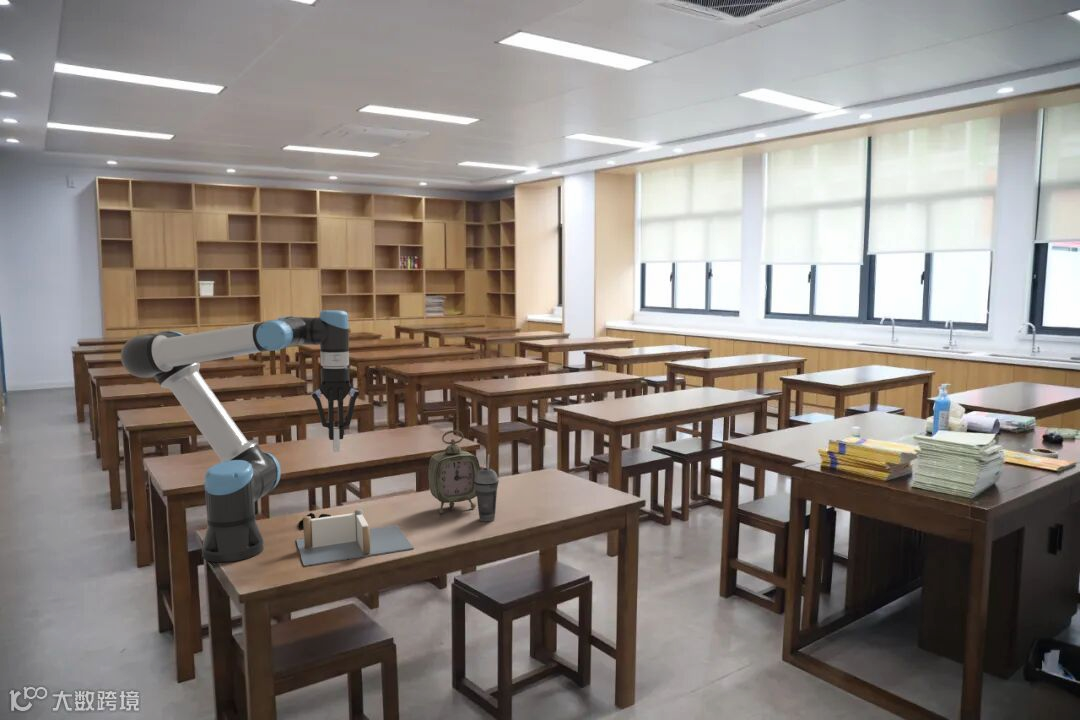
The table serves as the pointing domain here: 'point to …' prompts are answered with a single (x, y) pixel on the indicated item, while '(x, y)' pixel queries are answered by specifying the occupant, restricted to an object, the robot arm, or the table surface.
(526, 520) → the table surface
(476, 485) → the beverage cup
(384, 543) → the card
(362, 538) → the cream upright panel
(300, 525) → the black jagged rounded shell
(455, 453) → the tabletop clock
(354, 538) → the fixed fence section
